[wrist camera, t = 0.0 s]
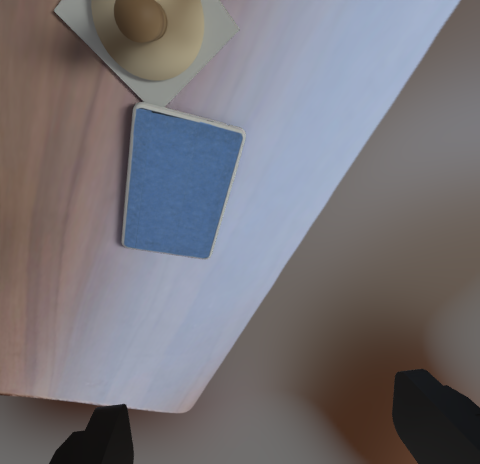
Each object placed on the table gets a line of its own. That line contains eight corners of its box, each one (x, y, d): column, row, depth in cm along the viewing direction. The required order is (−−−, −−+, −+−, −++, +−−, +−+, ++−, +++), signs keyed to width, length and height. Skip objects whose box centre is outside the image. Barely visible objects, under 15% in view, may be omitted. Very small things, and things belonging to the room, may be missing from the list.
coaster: (55, 11, 28) (53, 10, 27) (142, -109, 24) (142, -111, 24) (157, 114, 33) (156, 114, 33) (239, 29, 30) (239, 29, 30)
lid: (70, 12, 27) (31, 6, 21) (143, -85, 25) (124, -128, 18) (156, 101, 32) (145, 118, 26) (225, 28, 29) (233, 26, 23)
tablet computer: (134, 98, 32) (132, 101, 31) (247, 128, 35) (249, 131, 34) (122, 242, 42) (120, 248, 41) (210, 256, 45) (210, 261, 44)
